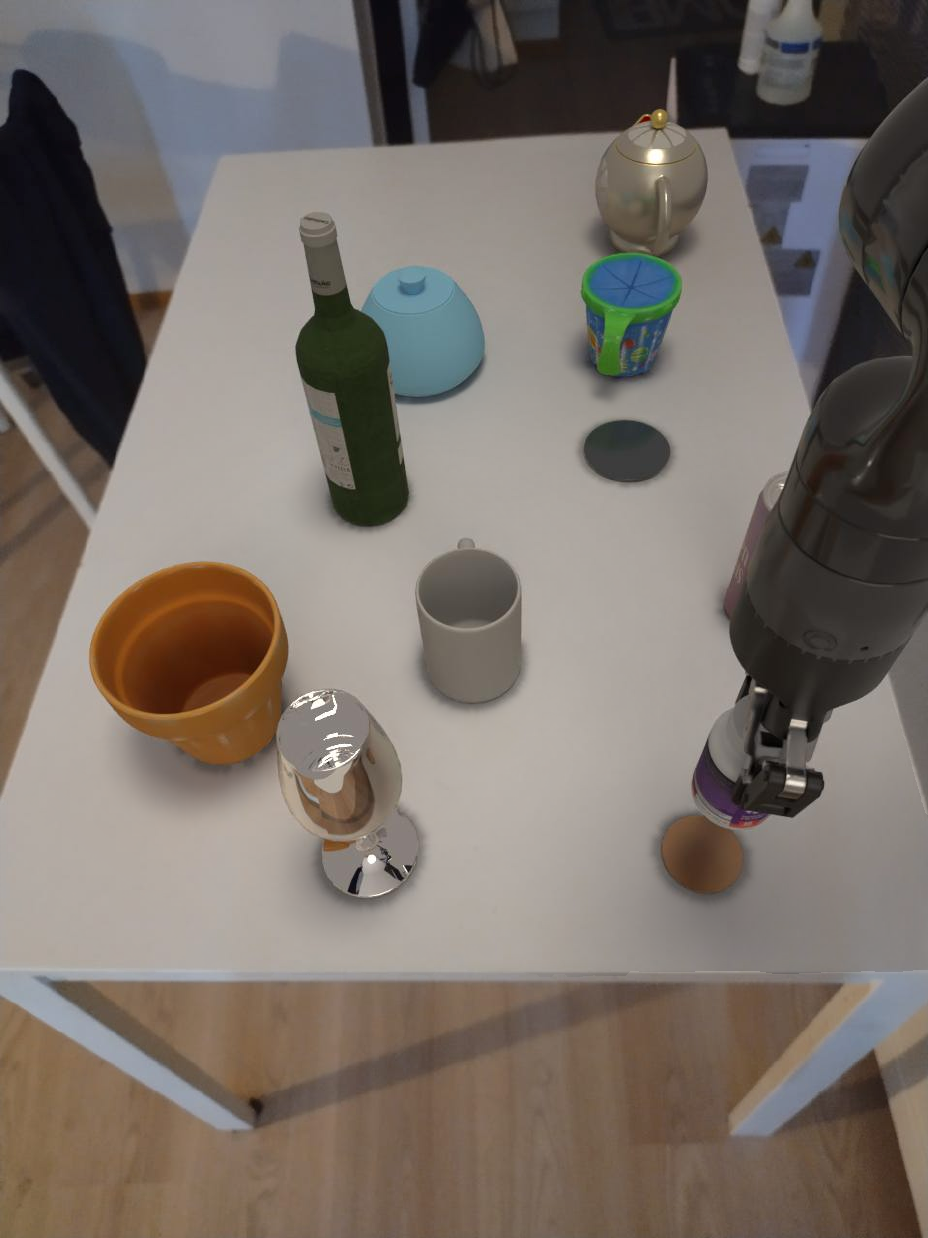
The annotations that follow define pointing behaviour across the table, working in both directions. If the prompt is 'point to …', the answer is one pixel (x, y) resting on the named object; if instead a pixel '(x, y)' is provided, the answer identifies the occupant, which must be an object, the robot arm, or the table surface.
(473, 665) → the mug
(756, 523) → the beverage can
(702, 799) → the pill bottle
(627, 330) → the sippy cup
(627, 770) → the table surface
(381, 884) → the wineglass
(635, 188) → the teapot
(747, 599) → the robot arm
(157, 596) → the flower pot
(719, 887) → the cork coaster
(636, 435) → the slate coaster
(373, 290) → the sugar bowl
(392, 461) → the wine bottle
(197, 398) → the table surface
